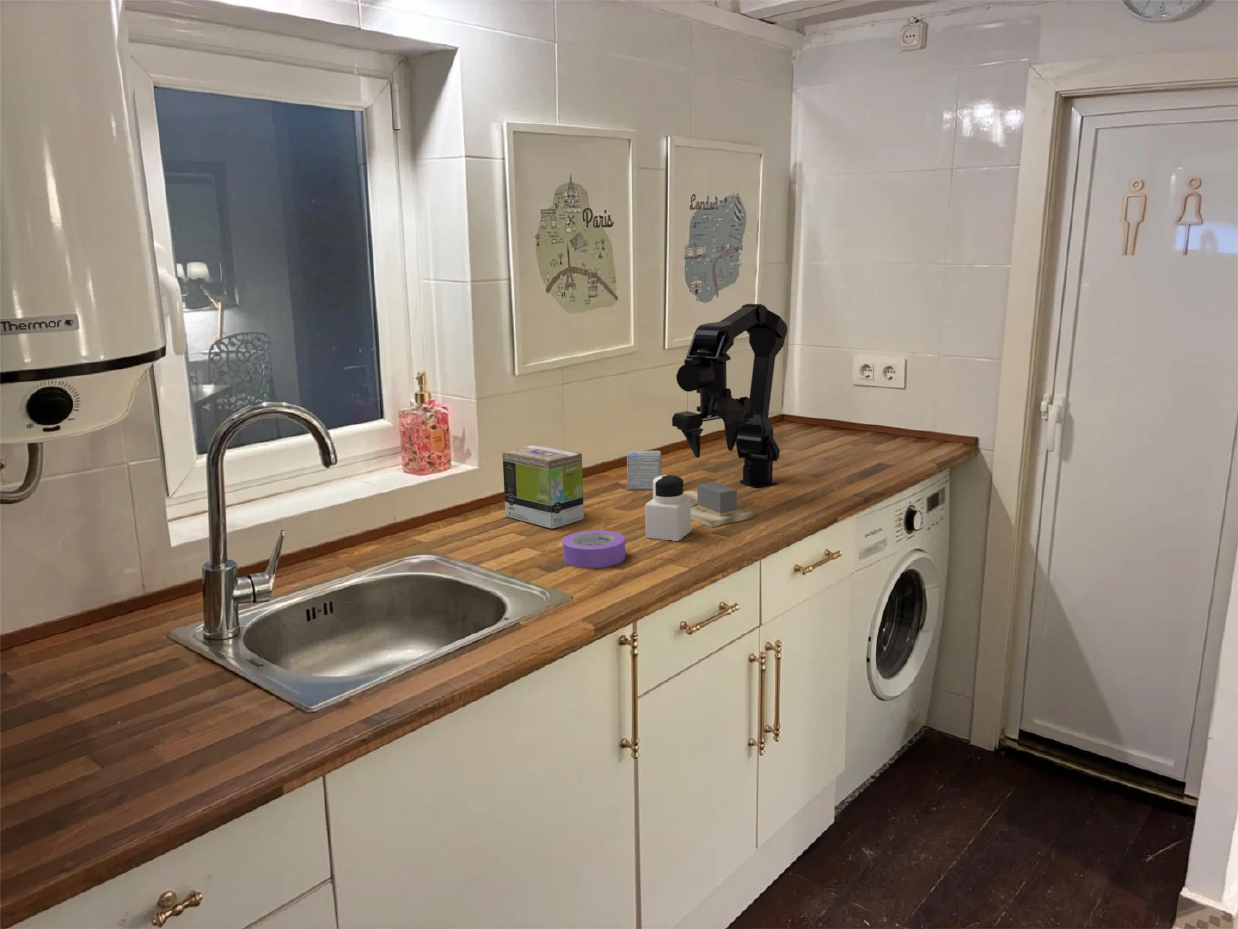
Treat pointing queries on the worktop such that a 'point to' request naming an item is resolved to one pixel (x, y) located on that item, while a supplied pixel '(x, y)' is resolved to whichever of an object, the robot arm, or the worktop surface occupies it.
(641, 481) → the medicine box
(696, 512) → the board
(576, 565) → the masking tape
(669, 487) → the medicine bottle
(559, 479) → the tea box
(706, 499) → the block
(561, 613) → the worktop surface
